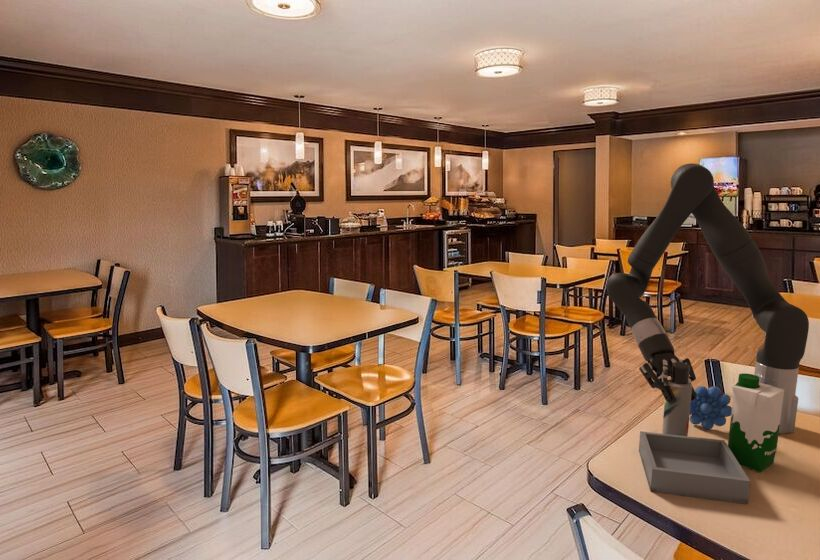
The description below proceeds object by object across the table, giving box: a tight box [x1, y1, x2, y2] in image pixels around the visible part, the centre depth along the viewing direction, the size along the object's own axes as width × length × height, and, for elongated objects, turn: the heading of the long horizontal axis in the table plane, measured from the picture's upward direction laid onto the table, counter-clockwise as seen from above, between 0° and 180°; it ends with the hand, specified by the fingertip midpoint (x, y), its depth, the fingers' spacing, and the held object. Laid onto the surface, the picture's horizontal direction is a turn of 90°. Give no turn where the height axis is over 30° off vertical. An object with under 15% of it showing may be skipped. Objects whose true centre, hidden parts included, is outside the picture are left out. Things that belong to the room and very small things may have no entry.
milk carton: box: [727, 373, 784, 473], centre depth 123 cm, size 9×9×20 cm
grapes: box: [689, 385, 732, 430], centre depth 142 cm, size 12×7×12 cm, turn 42°
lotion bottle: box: [661, 362, 693, 436], centre depth 133 cm, size 6×6×20 cm
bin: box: [638, 430, 751, 505], centre depth 119 cm, size 18×18×5 cm
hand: (683, 400), depth 131 cm, fingers closed on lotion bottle, 5 cm apart
